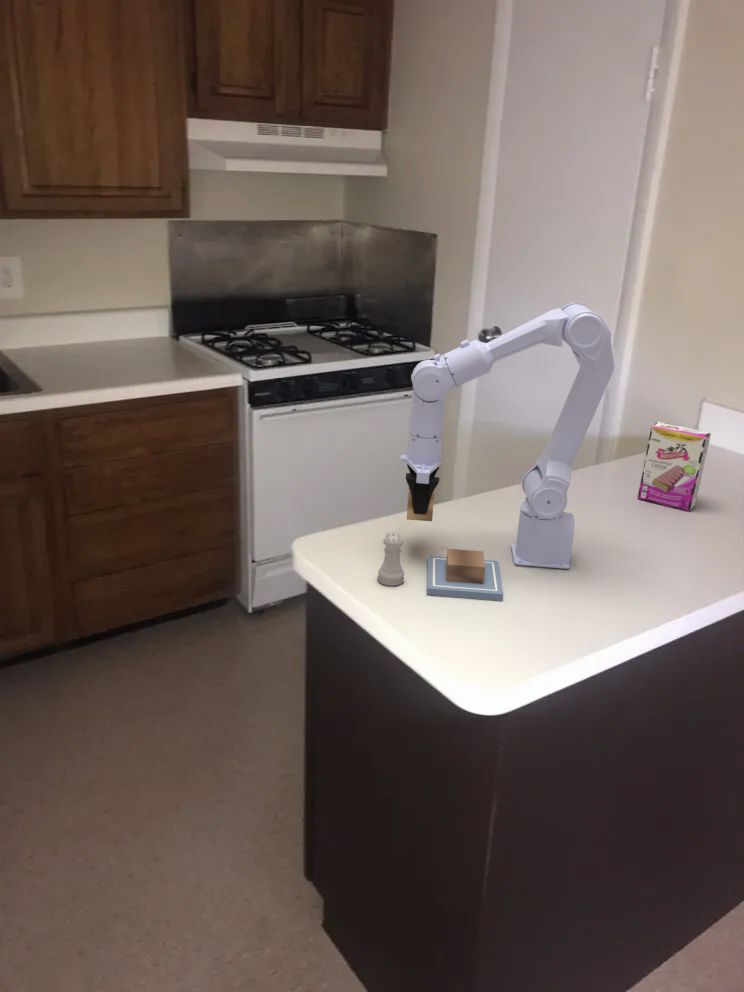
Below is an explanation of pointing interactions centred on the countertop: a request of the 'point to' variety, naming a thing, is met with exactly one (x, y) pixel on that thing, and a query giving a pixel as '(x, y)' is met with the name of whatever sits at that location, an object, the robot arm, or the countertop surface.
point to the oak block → (419, 516)
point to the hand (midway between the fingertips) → (420, 507)
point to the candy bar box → (673, 465)
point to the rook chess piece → (391, 562)
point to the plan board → (467, 585)
